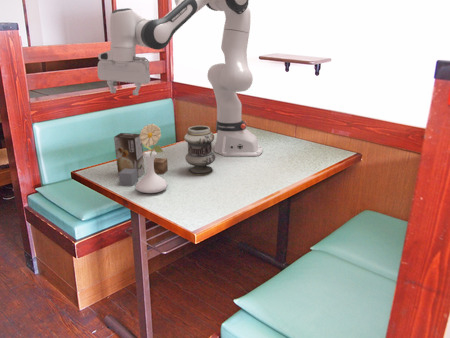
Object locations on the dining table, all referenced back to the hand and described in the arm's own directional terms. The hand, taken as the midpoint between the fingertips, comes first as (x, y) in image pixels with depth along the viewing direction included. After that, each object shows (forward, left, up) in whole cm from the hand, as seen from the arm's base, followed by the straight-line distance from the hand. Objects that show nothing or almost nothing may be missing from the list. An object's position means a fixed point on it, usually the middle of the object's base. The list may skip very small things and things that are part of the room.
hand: (124, 94), depth 156 cm
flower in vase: (-15, +15, -32) cm, 38 cm away
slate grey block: (-4, +10, -32) cm, 34 cm away
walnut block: (-11, -4, -32) cm, 34 cm away
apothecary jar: (-27, -8, -32) cm, 42 cm away
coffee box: (-1, +1, -32) cm, 32 cm away
